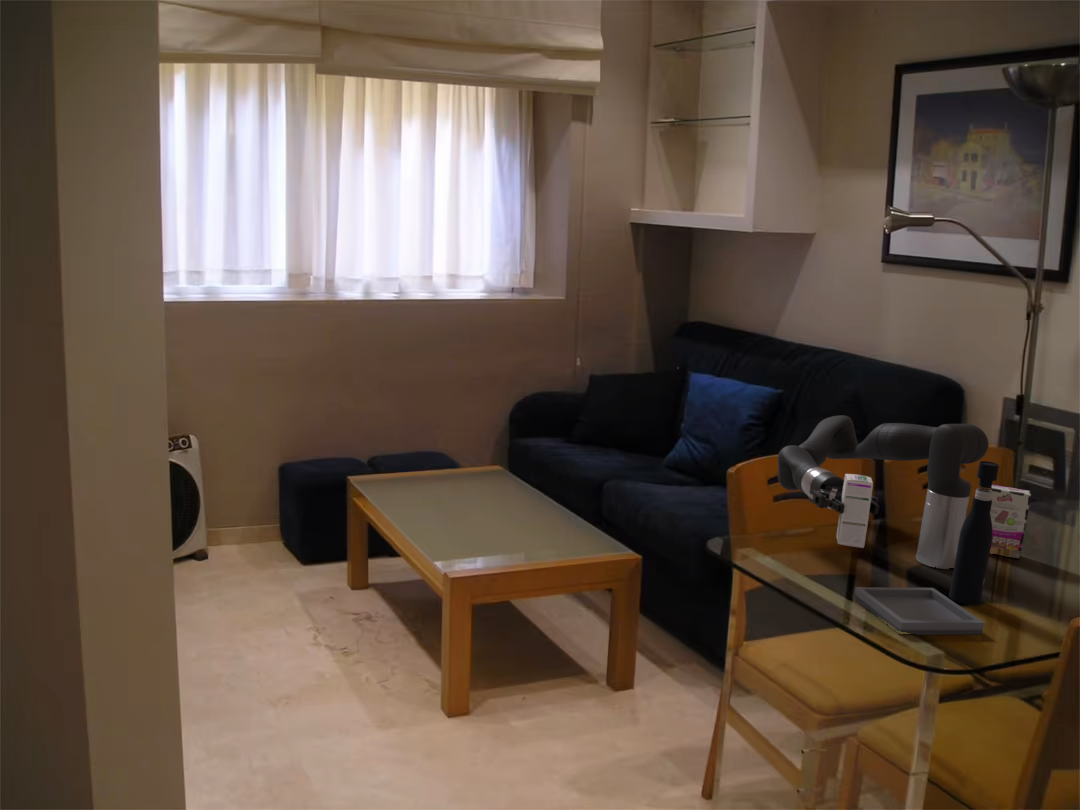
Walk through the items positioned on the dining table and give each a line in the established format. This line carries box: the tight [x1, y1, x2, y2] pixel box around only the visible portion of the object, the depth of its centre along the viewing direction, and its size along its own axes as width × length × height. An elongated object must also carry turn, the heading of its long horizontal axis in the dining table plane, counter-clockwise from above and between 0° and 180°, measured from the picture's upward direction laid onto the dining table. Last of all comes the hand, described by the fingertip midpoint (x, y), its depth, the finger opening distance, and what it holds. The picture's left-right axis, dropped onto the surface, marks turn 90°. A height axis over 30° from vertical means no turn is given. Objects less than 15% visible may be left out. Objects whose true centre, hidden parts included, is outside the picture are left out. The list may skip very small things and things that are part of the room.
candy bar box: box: [990, 484, 1032, 552], centre depth 267 cm, size 11×5×16 cm, turn 68°
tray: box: [853, 586, 985, 636], centre depth 221 cm, size 18×18×2 cm
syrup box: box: [835, 473, 874, 549], centre depth 235 cm, size 6×6×14 cm
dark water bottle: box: [948, 460, 1000, 606], centre depth 231 cm, size 6×6×30 cm
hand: (859, 509), depth 232 cm, fingers closed on syrup box, 7 cm apart
